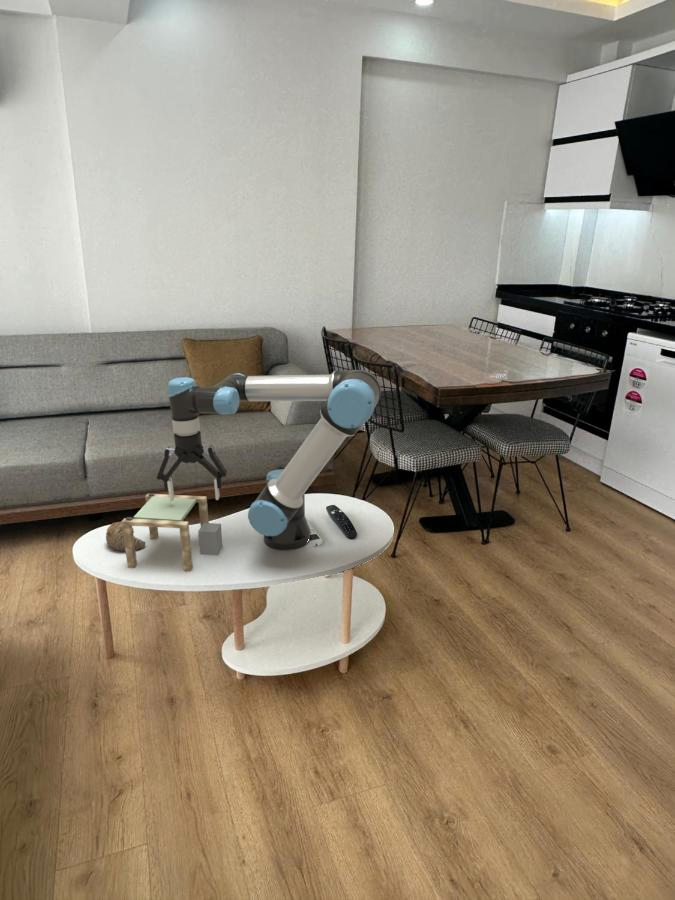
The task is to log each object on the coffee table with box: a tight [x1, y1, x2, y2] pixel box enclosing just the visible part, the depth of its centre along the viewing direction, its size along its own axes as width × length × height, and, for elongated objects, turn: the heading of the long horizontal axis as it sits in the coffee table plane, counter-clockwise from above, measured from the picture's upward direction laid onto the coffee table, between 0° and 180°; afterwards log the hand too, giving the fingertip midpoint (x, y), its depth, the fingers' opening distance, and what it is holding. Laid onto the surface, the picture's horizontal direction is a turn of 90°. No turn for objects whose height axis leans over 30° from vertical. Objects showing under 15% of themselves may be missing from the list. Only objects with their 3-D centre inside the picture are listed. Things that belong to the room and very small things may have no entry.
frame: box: [121, 492, 210, 572], centre depth 183 cm, size 19×19×16 cm
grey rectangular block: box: [197, 522, 224, 556], centre depth 186 cm, size 6×6×8 cm
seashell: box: [105, 521, 146, 552], centre depth 190 cm, size 14×10×10 cm
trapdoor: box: [133, 497, 197, 521], centre depth 181 cm, size 14×14×4 cm
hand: (195, 499), depth 181 cm, fingers open, 13 cm apart
